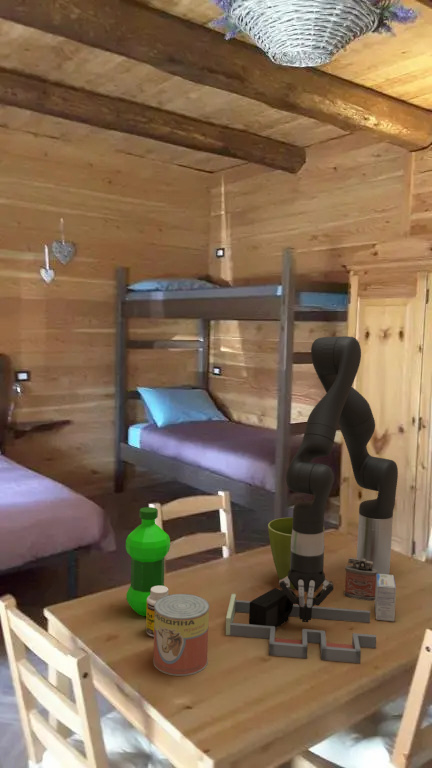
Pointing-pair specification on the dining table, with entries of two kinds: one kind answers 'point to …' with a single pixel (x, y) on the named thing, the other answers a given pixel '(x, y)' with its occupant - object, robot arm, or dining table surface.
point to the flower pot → (281, 545)
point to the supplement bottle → (155, 594)
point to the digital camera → (270, 609)
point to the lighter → (360, 580)
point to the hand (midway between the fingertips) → (305, 620)
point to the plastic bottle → (146, 559)
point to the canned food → (181, 634)
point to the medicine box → (385, 597)
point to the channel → (305, 633)
